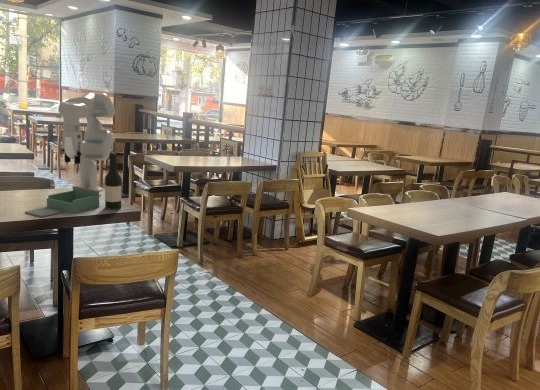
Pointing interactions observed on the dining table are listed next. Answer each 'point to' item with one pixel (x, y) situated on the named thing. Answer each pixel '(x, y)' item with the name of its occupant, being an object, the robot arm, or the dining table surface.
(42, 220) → the dining table surface
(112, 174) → the wine bottle
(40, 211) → the rubber mat
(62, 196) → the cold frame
